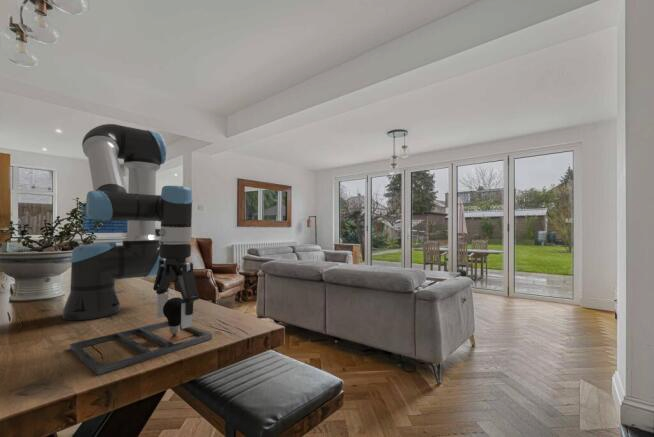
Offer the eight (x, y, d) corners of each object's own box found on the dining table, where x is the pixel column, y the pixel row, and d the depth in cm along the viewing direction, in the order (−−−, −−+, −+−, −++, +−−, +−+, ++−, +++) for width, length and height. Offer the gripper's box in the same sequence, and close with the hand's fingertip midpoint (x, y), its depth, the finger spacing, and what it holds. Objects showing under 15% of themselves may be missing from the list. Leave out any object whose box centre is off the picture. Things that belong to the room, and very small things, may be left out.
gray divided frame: (69, 349, 73) (69, 344, 73) (174, 323, 93) (174, 319, 93) (97, 375, 61) (98, 369, 61) (212, 338, 80) (212, 334, 80)
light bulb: (170, 340, 78) (171, 302, 78) (157, 335, 81) (158, 298, 81) (190, 333, 83) (192, 297, 83) (178, 329, 86) (179, 293, 86)
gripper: (141, 241, 87) (139, 316, 87) (185, 246, 72) (183, 336, 72) (168, 240, 93) (166, 310, 93) (214, 244, 78) (212, 328, 78)
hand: (174, 321), depth 82 cm, fingers open, 13 cm apart
